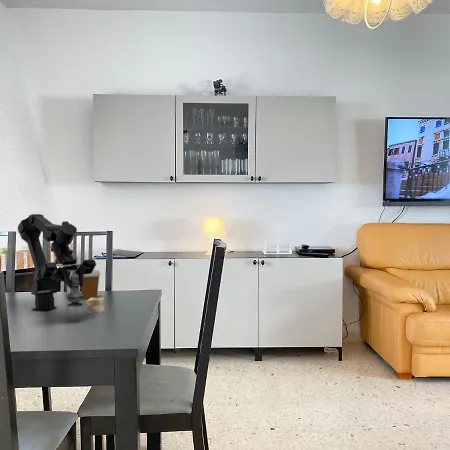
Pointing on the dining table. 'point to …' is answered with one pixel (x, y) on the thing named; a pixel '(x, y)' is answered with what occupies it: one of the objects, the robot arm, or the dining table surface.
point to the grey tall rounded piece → (74, 292)
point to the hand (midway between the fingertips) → (76, 287)
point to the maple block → (95, 305)
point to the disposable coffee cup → (90, 285)
